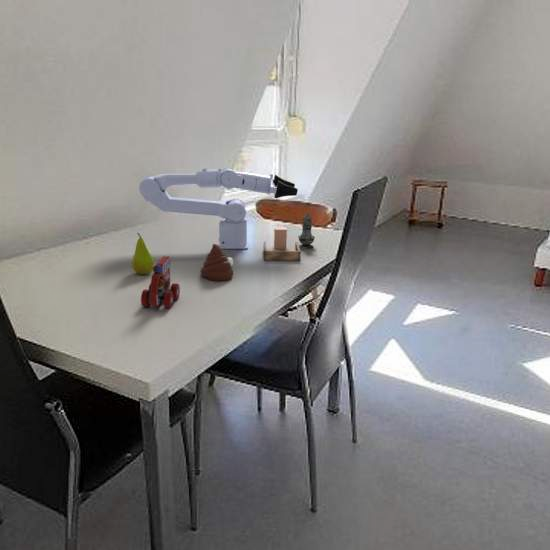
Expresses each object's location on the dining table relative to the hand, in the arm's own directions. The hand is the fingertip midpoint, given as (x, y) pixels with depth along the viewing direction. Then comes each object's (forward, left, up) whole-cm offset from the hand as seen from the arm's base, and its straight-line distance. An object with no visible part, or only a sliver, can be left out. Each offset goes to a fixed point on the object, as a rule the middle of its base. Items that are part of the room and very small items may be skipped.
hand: (295, 189), depth 163 cm
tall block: (-5, -3, -20) cm, 20 cm away
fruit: (-45, -31, -20) cm, 58 cm away
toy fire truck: (-36, -53, -20) cm, 67 cm away
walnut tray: (-5, -12, -19) cm, 23 cm away
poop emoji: (-24, -33, -20) cm, 46 cm away
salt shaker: (+4, -1, -20) cm, 20 cm away
